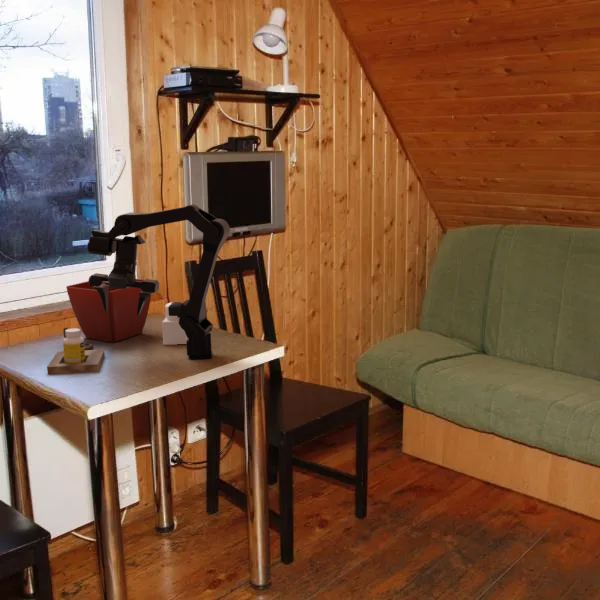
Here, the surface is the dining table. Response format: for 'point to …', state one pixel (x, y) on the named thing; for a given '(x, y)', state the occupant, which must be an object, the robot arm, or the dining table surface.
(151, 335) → the dining table surface
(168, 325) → the medicine bottle
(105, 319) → the plant pot
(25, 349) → the dining table surface
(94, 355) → the socket board
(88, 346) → the compass
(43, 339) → the dining table surface
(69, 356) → the supplement bottle
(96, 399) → the dining table surface
